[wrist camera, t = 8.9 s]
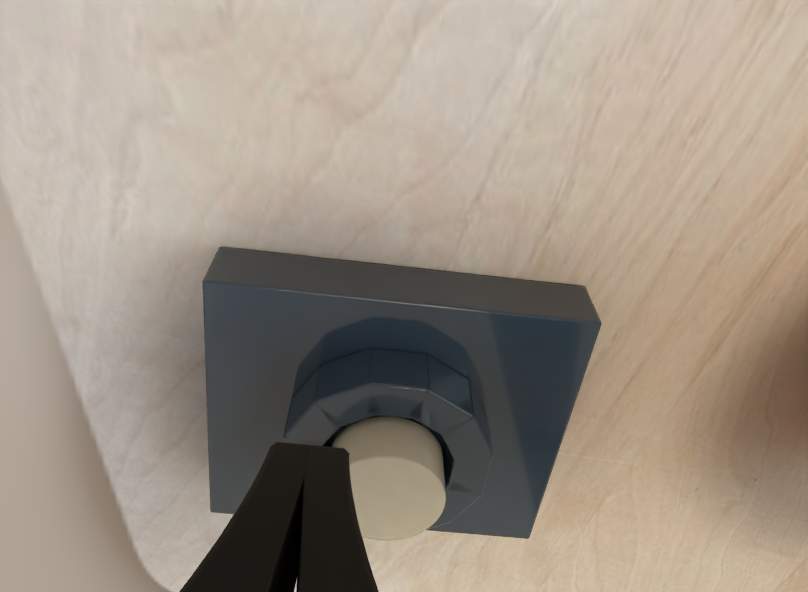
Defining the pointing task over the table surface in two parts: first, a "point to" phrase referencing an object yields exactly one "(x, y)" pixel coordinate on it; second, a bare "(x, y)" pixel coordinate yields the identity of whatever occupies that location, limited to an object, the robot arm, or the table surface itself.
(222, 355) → the push button base
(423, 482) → the cream cylinder puck
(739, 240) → the table surface
